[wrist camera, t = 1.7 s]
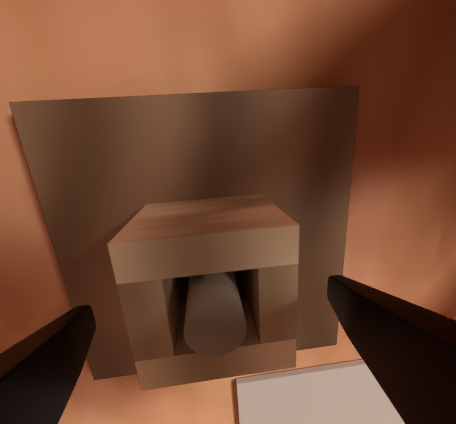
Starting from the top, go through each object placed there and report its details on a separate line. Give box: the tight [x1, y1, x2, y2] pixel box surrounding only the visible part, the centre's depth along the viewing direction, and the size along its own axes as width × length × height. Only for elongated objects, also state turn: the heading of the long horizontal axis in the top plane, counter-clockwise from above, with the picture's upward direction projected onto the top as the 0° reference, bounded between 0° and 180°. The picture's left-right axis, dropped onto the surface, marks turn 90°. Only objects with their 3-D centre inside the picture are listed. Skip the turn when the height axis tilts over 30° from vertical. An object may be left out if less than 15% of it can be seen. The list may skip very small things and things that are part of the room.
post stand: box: [9, 86, 359, 380], centre depth 10 cm, size 16×16×7 cm
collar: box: [107, 194, 299, 391], centre depth 10 cm, size 6×6×5 cm
